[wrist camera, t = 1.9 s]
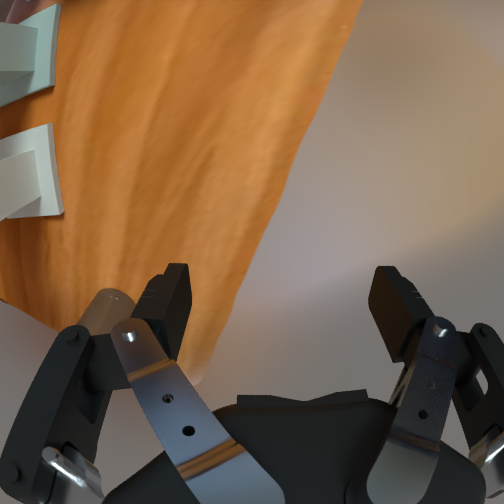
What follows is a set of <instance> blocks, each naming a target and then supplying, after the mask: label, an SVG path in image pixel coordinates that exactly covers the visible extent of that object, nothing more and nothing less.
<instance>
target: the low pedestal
mask: <svg viewBox="0 0 504 504" xmlns="http://www.w3.org/2000/svg"><path fill="white" fill-rule="evenodd" d="M61 7H62V5H60V4H54V5H52V6H50V7H48V8H46V9H44V10H42V11H40V12H38V13H37V14H35V15H33V16H31V17H29V18H27V19H26V20H24V21H22V22H20V23H19V24H11V23H3V22H0V108H1V107H3V106H5V105H7V104H9V103H11V102H14V101H16V100H18V99H21V98H23V97H25V96H28V95H30V94H33V93H35V92H38V91H40V90H43V89H46V88H48V87H51V86H54V85H55V66H56V49H57V37H58V28H59V20H60V13H61Z"/></svg>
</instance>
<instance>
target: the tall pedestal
mask: <svg viewBox="0 0 504 504" xmlns="http://www.w3.org/2000/svg"><path fill="white" fill-rule="evenodd" d="M63 212H64V207H63V201H62V196H61V190H60V184H59V177H58V170H57V163H56V154H55V144H54V133H53V123H50V124H46V125H42V126H39V127H36V128H32V129H29V130H26V131H23V132H20V133H17V134H15V135H12V136H9V137H6V138H4V139H1V140H0V221H1V220H3V219H4V218H6V217H7V219H10V218H22V217H35V216H49V215H60V214H62V213H63Z"/></svg>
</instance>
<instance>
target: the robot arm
mask: <svg viewBox="0 0 504 504" xmlns="http://www.w3.org/2000/svg"><path fill="white" fill-rule="evenodd" d="M368 304H369V309H370V311H371V314H372V316H373V318H374V320H375V322H376V325H377V327H378V329H379V331H380V333H381V335H382V338H383V340H384V343H385V345H386V347H387V350H388V352H389V354H390V357H391V359H392V362H393V363H398V362H404V363H405V366H404V368H403V369H402V371H401V374H400V376H399V379H398V381H397V384H396V386H395V388H394V391H393V393H392V395H391V398H390V400H389V402H388V403H386V402H384V401H381V400H378V399H373V398H368V395H367V391H366V389H362V390H353V391H343V392H335V393H333V394H329V395H326V396H323V397H320V398H316V399H313V400H309V401H299V400H293V399H287V398H281V397H277V396H272V395H237V404H233V405H229V406H225V407H222V408H220V409H217V410H215V411H213V412H211V411H210V409H209V408H208V407H207V406H206V404H205V403H204V402H203V400H202V399H201V397H200V396H199V395H198V393H197V392H196V391H195V389H194V388H193V386H192V385H191V383H190V382H189V381H188V379H187V378H186V376H185V375H184V373H183V372H182V370H181V369H180V368H179V366H178V365H177V363H176V361H177V357H178V354H179V350H180V346H181V343H182V339H183V335H184V332H185V328H186V325H187V321H188V318H189V314H190V311H191V307H192V292H191V284H190V276H189V268H188V265H187V264H186V263H169V264H168V266H167V268H166V270H165V272H164V274H163V275H159V274H157V275H156V276H155V277H153V278H152V279H151V280H150V281H149V282H148V284H147V286H146V287H145V291H143V293H142V295H141V297H140V299H139V301H138V303H137V305H135V303H134V302H133V301H132V300H131V299H130V298H129V297H128V296H127V295H126V294H124V293H122V292H121V291H118V290H115V289H110V288H108V289H103V290H101V291H99V292H98V293H97V295H96V296H95V297H94V299H93V300H92V302H91V303H90V305H89V306H88V307H87V309H86V310H85V312H84V313H83V315H82V316H81V318H80V319H79V321H78V322H77V324H76V325H73V326H69V327H67V328H65V329H63V330H62V331H61V332H60V333H59V334H58V336H57V337H56V339H55V341H54V343H53V344H52V346H51V348H50V350H49V351H48V353H47V355H46V357H45V359H44V361H43V363H42V364H41V366H40V368H39V370H38V372H37V374H36V376H35V378H34V380H33V382H32V384H31V386H30V388H29V390H28V392H27V394H26V396H25V398H24V400H23V403H22V405H21V407H20V409H19V412H18V414H17V416H16V418H15V421H14V423H13V426H12V428H11V431H10V433H9V436H8V438H7V441H6V444H5V446H4V449H3V452H2V455H1V458H0V487H1V488H2V490H3V491H4V492H5V493H6V494H7V495H9V496H11V497H12V498H14V499H16V500H18V501H20V502H22V503H23V504H484V502H485V498H494V497H496V496H498V495H500V494H501V493H503V492H504V344H503V342H502V341H501V339H500V337H499V336H498V334H497V333H496V331H495V330H494V329H493V328H492V327H490V326H489V325H486V324H483V323H476V324H475V325H474V326H473V327H472V329H471V331H470V333H467V332H459V331H456V328H455V326H454V325H453V324H452V323H451V322H450V321H449V320H447V319H445V318H443V317H439V316H435V315H434V314H433V312H432V311H431V309H430V308H429V306H428V305H427V303H426V302H425V300H424V299H423V298H422V296H421V295H420V293H419V292H418V290H417V289H416V287H415V286H414V285H413V283H411V282H410V281H409V280H407V279H406V278H405V277H402V276H401V274H400V273H399V272H398V270H397V269H396V267H394V266H378V267H377V268H376V270H375V274H374V278H373V282H372V286H371V289H370V293H369V298H368ZM480 370H482V372H483V373H484V375H485V377H486V379H487V382H488V390H487V393H486V394H485V395H484V393H483V391H482V389H481V387H480V385H479V383H478V380H477V379H476V375H477V374H478V373H479V371H480ZM127 388H132V389H133V391H134V393H135V396H136V397H137V400H138V402H139V404H140V405H141V408H142V410H143V412H144V414H145V415H146V417H147V419H148V421H149V423H150V425H151V427H152V428H153V430H154V432H155V434H156V436H157V437H158V439H159V441H160V443H161V444H162V446H163V448H164V449H165V450H164V451H163V452H162V453H161V454H159V455H158V456H157V457H156V458H154V459H153V460H152V461H151V462H149V463H148V464H147V465H146V466H144V467H143V468H142V469H140V470H139V471H138V472H136V473H135V474H134V475H132V476H131V477H130V478H128V479H127V480H126V481H124V482H123V483H122V484H120V485H119V486H118V487H117V488H115V489H113V490H112V491H111V492H110V493H109V494H108V495H107V496H106V497H104V495H103V493H102V489H101V476H100V473H99V471H98V469H97V468H96V467H95V466H94V465H93V464H94V461H95V457H96V452H97V443H98V439H99V435H100V431H101V427H102V424H103V421H104V417H105V414H106V410H107V407H108V404H109V400H110V397H111V394H112V391H113V390H117V389H127ZM451 398H452V400H453V403H454V406H455V408H456V411H457V414H458V417H459V419H460V422H461V425H462V428H463V431H464V434H465V437H466V440H467V443H468V447H469V450H470V452H469V457H468V458H469V459H467V458H466V457H464V456H463V455H461V454H460V453H458V452H457V451H456V450H454V449H453V448H451V447H450V446H449V445H447V444H446V443H444V442H443V441H441V440H440V439H441V436H442V433H443V429H444V425H445V422H446V418H447V414H448V410H449V406H450V401H451Z"/></svg>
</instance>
